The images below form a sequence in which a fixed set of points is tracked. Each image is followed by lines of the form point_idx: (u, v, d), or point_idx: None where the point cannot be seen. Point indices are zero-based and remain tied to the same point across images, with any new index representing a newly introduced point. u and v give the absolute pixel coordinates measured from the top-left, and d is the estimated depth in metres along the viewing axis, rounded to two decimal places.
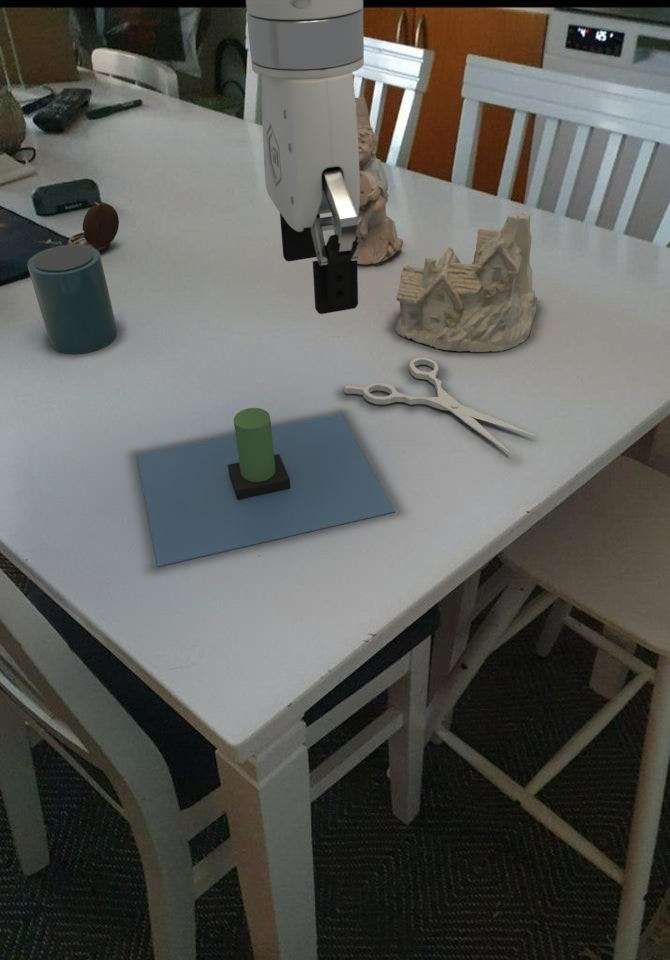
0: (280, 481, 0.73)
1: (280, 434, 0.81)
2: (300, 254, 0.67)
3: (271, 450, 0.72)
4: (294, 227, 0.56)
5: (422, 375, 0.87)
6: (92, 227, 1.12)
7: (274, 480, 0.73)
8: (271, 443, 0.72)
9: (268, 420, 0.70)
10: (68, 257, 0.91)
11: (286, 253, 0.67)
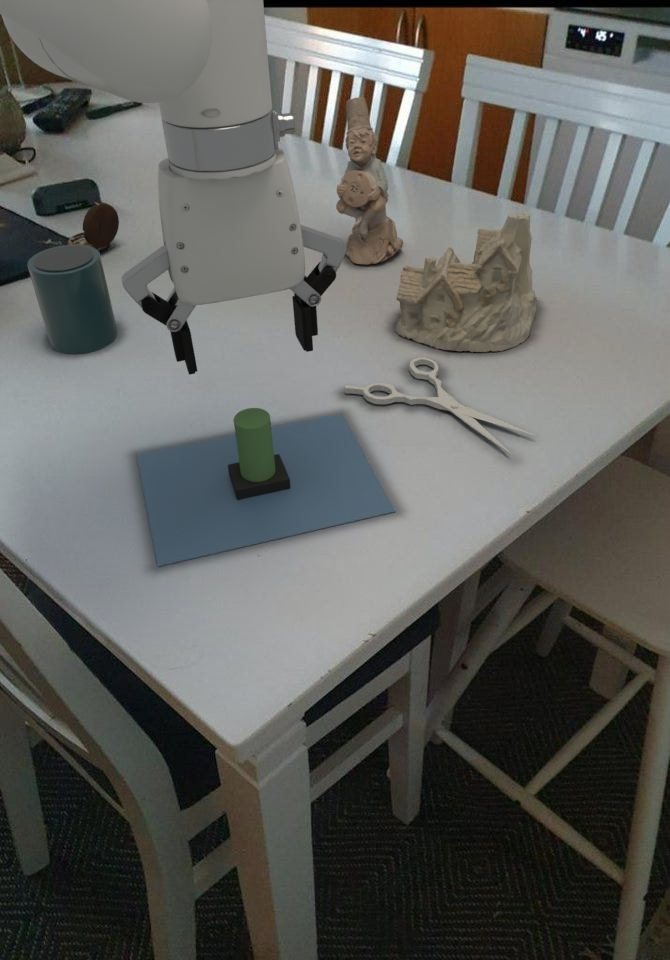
0: (280, 481, 0.73)
1: (280, 434, 0.81)
2: (298, 337, 0.68)
3: (271, 450, 0.72)
4: None
5: (422, 375, 0.87)
6: (92, 227, 1.12)
7: (274, 480, 0.73)
8: (271, 443, 0.72)
9: (268, 420, 0.70)
10: (68, 257, 0.91)
11: (295, 328, 0.68)
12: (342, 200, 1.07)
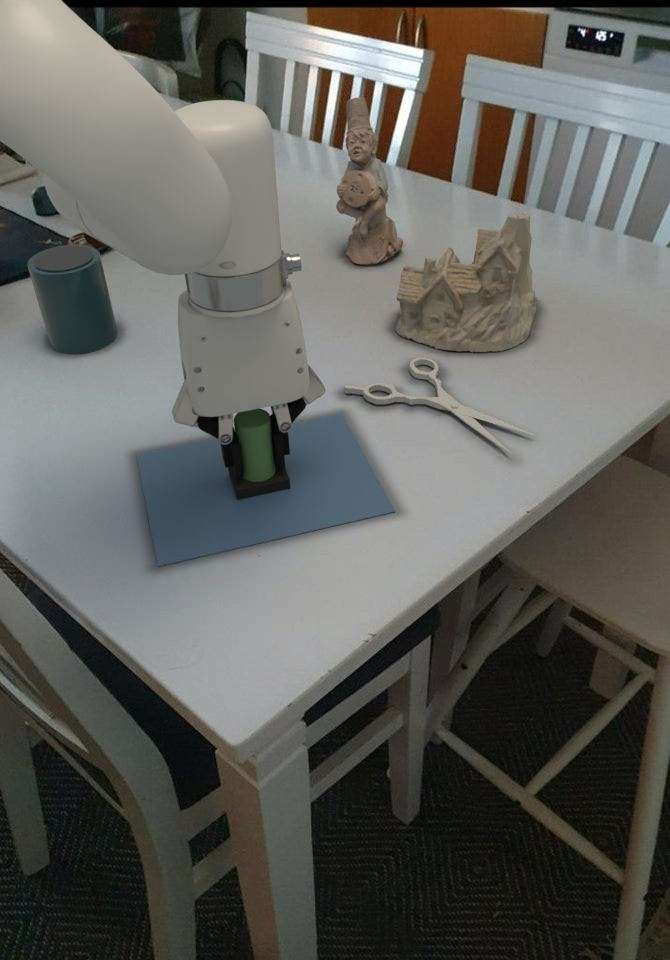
0: (280, 481, 0.73)
1: None
2: None
3: (271, 450, 0.72)
4: None
5: (422, 375, 0.87)
6: None
7: (274, 480, 0.73)
8: (271, 443, 0.72)
9: (268, 420, 0.70)
10: (68, 257, 0.91)
11: None
12: (342, 200, 1.07)
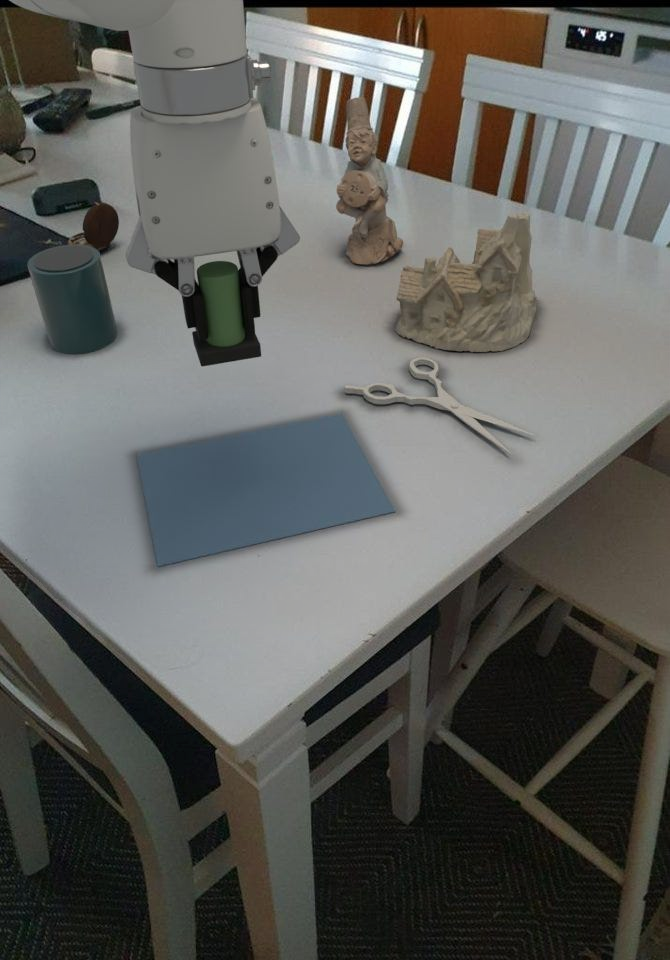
0: (250, 347, 0.66)
1: (280, 434, 0.81)
2: None
3: (239, 309, 0.64)
4: None
5: (422, 375, 0.87)
6: (92, 227, 1.12)
7: (242, 345, 0.66)
8: (239, 301, 0.64)
9: (235, 271, 0.63)
10: (68, 257, 0.91)
11: None
12: (342, 200, 1.07)
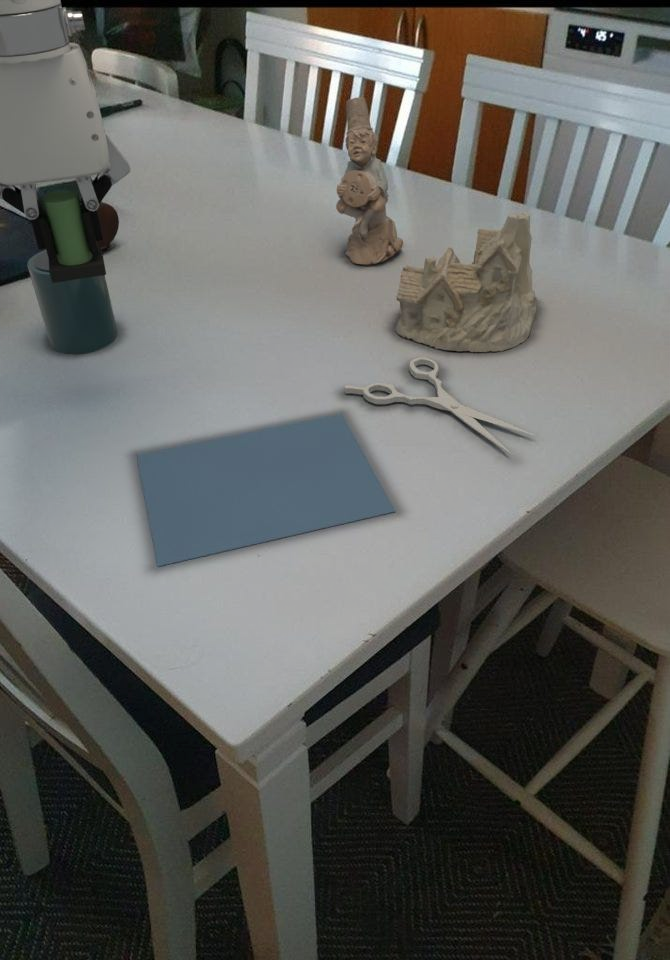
0: (94, 265, 0.76)
1: (280, 434, 0.81)
2: None
3: (82, 232, 0.75)
4: None
5: (422, 375, 0.87)
6: None
7: (88, 264, 0.76)
8: (82, 224, 0.74)
9: (75, 197, 0.73)
10: None
11: None
12: (342, 200, 1.07)
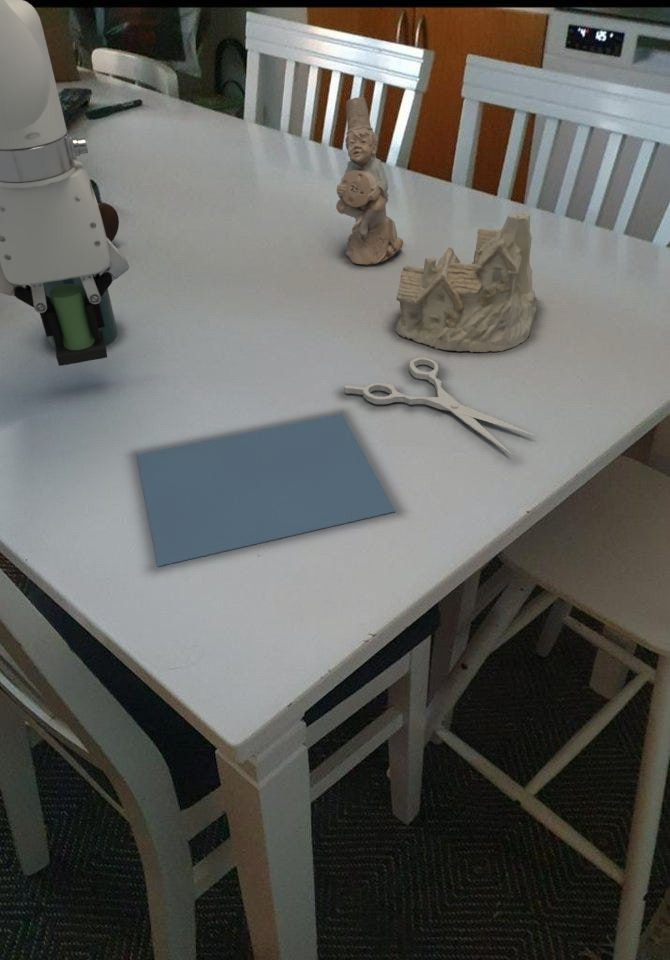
0: (97, 350, 0.84)
1: (280, 434, 0.81)
2: None
3: (86, 321, 0.83)
4: None
5: (422, 375, 0.87)
6: None
7: (91, 349, 0.84)
8: (85, 314, 0.83)
9: (79, 292, 0.81)
10: None
11: None
12: (342, 200, 1.07)
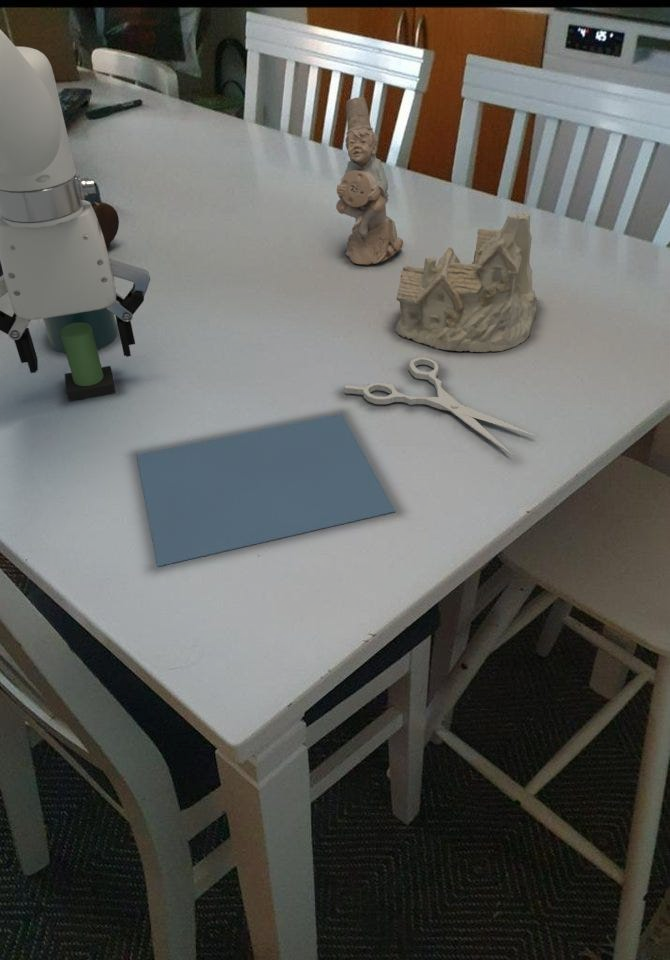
0: (105, 386, 0.87)
1: (280, 434, 0.81)
2: None
3: (95, 358, 0.86)
4: None
5: (422, 375, 0.87)
6: None
7: (100, 384, 0.87)
8: (94, 352, 0.86)
9: (89, 331, 0.84)
10: None
11: None
12: (342, 200, 1.07)
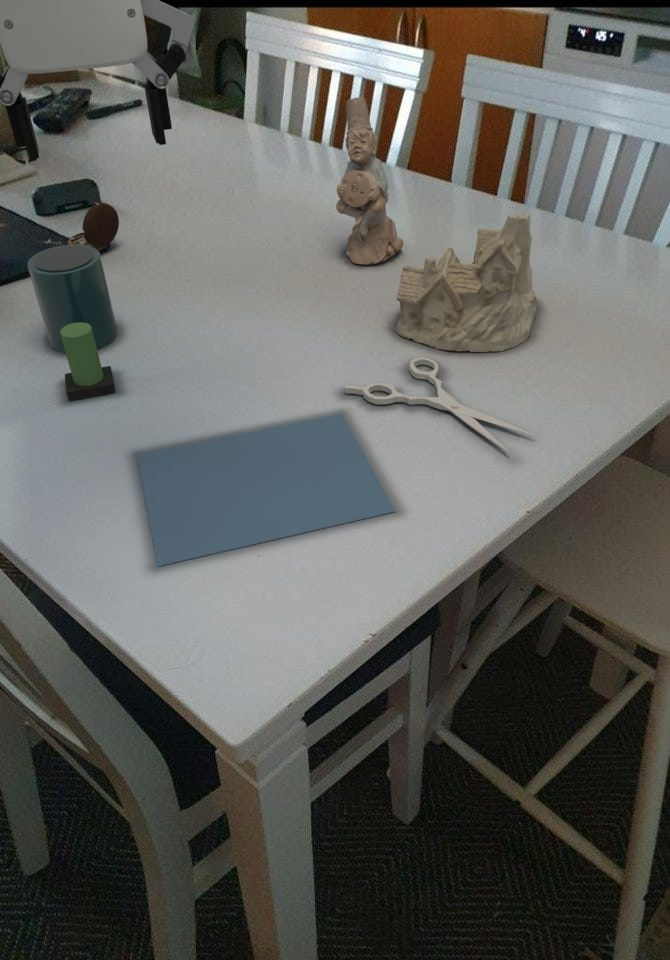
0: (105, 386, 0.87)
1: (280, 434, 0.81)
2: (153, 132, 0.64)
3: (95, 358, 0.86)
4: None
5: (422, 375, 0.87)
6: (92, 227, 1.12)
7: (100, 384, 0.87)
8: (94, 352, 0.86)
9: (89, 331, 0.84)
10: (68, 257, 0.91)
11: (151, 125, 0.65)
12: (342, 200, 1.07)
